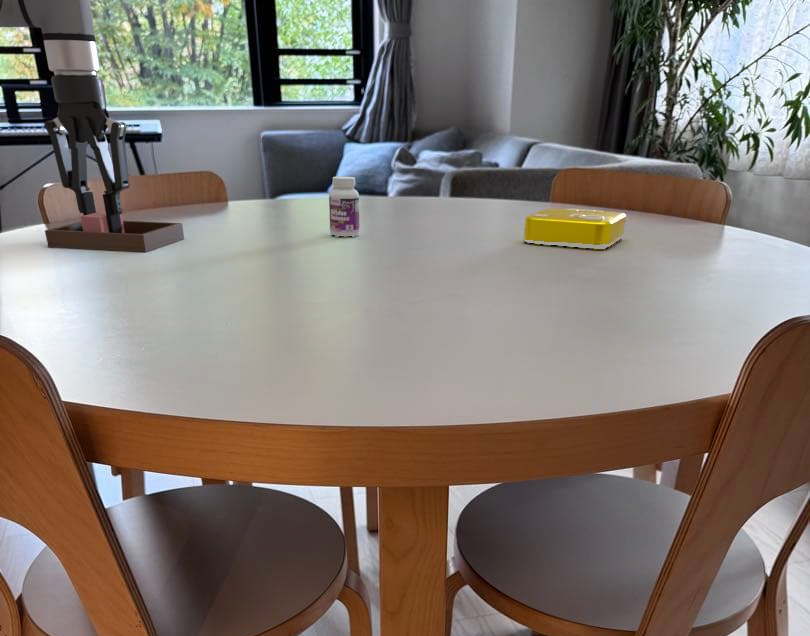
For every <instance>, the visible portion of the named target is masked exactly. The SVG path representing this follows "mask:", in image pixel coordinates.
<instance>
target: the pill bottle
mask: <svg viewBox="0 0 810 636" xmlns="http://www.w3.org/2000/svg"><path fill="white" fill-rule="evenodd" d="M331 180H332V187H333V188H332V189H331V190H330V191H329V194H328V202H329V203H328V204H329V205H328V206H329V208H328V209H329V234H330V236H332V235H335V236H334V237H335V238H340V237H339V236H352V237H351V238H355V237H358V236H359V235H360V194H359V192H358V190H357V189H355V187H356V177H354V176H344V175H343V176H333V177H332V179H331ZM358 234H359V235H358ZM353 235H357V236H353Z"/></svg>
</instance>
